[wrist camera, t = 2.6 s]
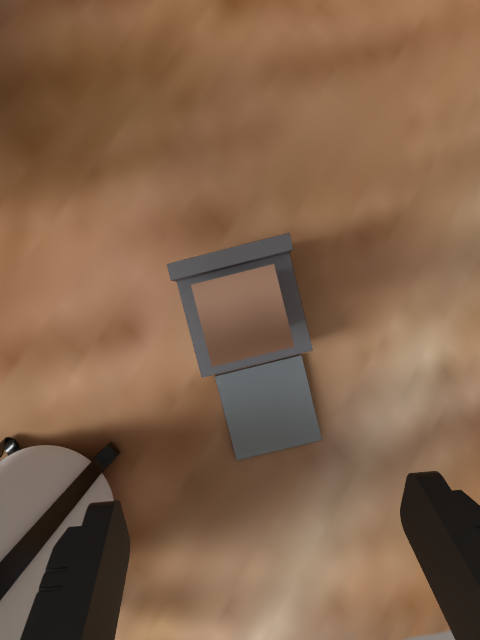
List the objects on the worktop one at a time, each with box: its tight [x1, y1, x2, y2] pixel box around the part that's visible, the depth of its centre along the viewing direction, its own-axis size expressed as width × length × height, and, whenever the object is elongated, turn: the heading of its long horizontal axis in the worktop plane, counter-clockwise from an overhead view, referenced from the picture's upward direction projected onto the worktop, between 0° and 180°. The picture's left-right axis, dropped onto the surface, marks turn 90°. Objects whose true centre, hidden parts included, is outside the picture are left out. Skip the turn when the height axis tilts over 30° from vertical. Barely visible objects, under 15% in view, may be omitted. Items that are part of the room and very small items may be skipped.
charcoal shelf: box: [167, 233, 313, 378], centre depth 32 cm, size 9×9×7 cm
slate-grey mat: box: [215, 354, 322, 460], centre depth 36 cm, size 8×8×1 cm
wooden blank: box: [191, 264, 294, 367], centre depth 26 cm, size 4×4×10 cm
